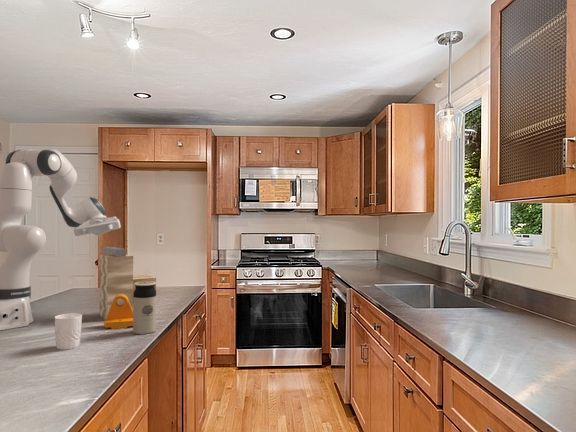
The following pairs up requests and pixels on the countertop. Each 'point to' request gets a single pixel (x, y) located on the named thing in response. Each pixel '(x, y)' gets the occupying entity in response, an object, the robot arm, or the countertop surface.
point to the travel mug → (144, 308)
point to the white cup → (68, 330)
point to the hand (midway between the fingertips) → (97, 230)
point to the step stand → (118, 281)
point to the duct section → (114, 251)
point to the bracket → (119, 314)
